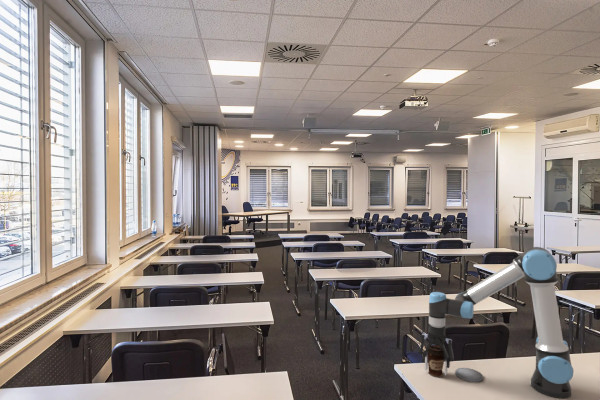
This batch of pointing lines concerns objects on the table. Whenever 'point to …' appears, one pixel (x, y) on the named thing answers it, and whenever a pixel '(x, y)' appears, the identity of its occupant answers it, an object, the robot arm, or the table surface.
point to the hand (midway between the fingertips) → (435, 371)
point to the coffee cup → (435, 360)
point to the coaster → (469, 374)
